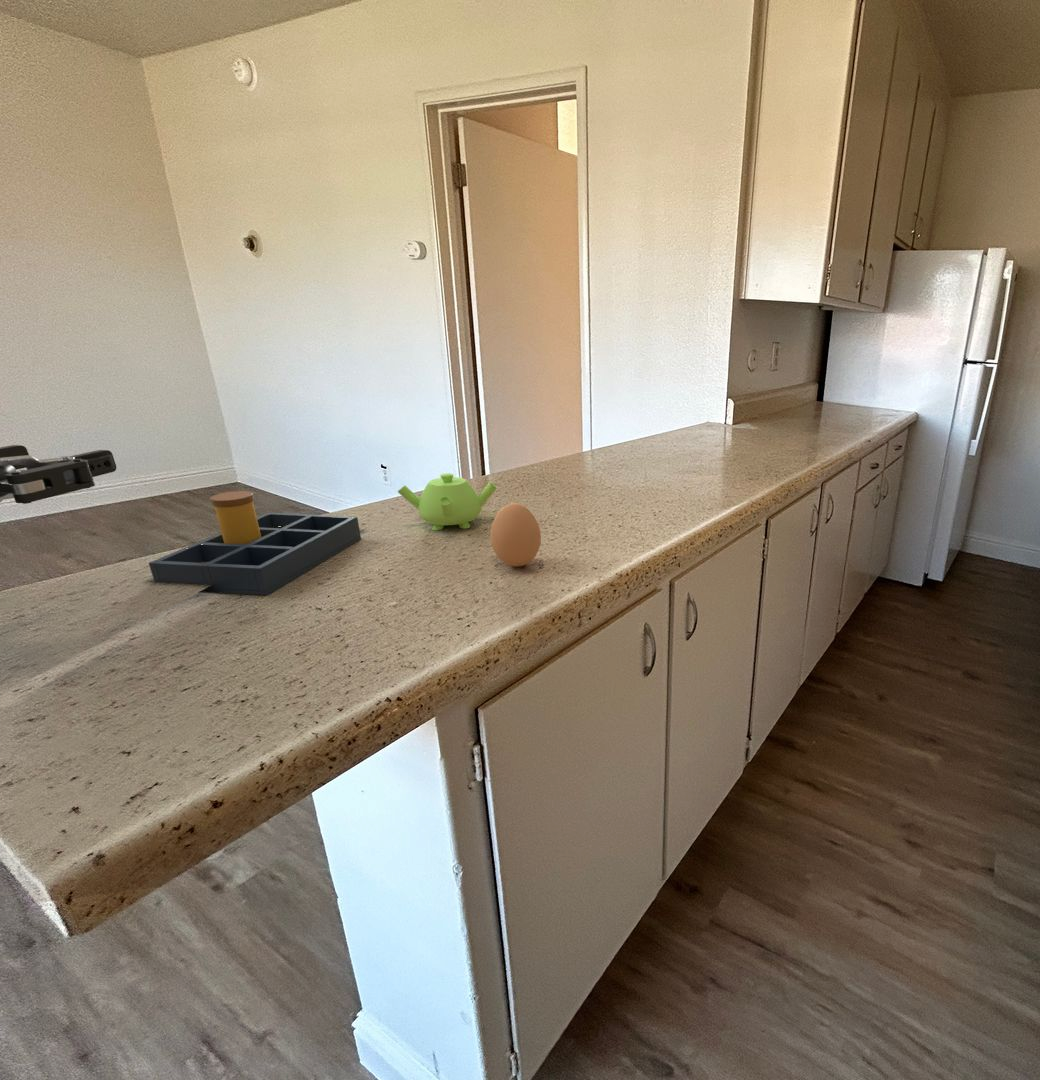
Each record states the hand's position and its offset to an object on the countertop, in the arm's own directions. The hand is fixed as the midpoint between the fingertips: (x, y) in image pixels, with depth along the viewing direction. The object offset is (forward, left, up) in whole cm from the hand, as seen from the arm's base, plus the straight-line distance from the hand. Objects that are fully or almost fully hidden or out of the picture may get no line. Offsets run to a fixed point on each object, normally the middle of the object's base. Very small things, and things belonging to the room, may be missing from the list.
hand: (68, 457), depth 59 cm
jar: (+1, +17, -17) cm, 24 cm away
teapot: (+21, +35, -18) cm, 45 cm away
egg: (+37, +20, -18) cm, 46 cm away
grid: (+4, +17, -18) cm, 25 cm away
